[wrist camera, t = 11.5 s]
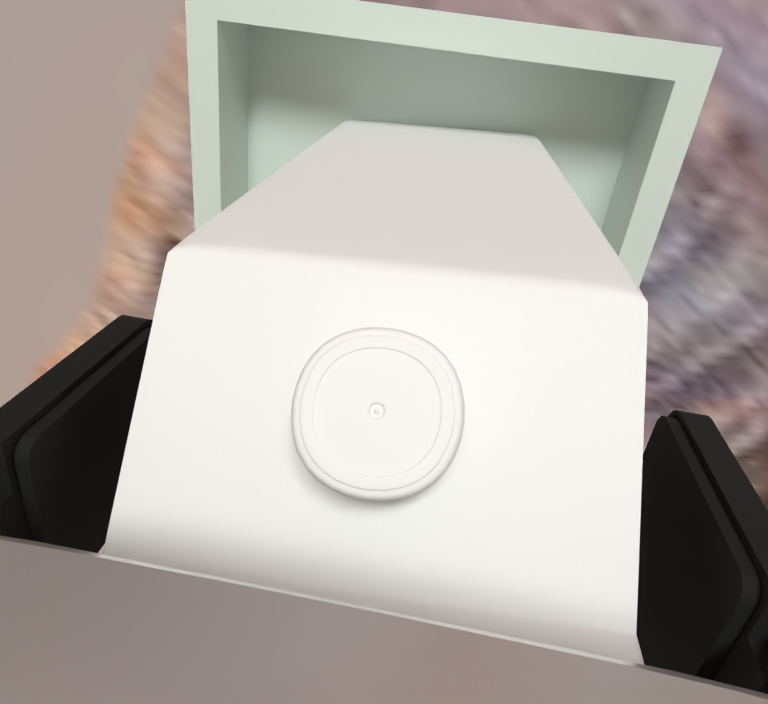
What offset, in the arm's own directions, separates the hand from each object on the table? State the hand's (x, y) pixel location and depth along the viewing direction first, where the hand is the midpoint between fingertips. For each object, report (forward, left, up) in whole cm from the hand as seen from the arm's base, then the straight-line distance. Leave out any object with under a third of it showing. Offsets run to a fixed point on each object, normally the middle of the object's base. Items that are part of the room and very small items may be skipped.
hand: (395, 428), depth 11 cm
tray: (+1, 0, -15) cm, 15 cm away
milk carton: (0, 0, -14) cm, 14 cm away
